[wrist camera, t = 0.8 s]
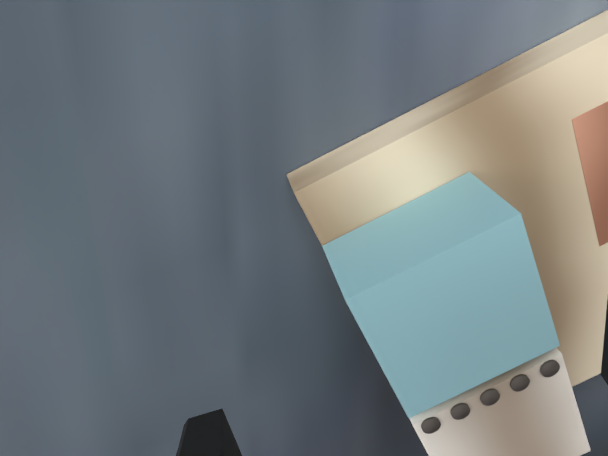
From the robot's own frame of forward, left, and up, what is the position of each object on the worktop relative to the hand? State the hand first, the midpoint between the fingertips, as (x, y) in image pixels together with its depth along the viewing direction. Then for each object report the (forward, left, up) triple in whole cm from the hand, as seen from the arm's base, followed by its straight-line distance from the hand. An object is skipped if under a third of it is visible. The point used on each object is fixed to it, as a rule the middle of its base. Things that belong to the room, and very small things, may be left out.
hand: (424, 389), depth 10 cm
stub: (+2, -3, -7) cm, 8 cm away
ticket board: (+5, -5, -9) cm, 11 cm away
